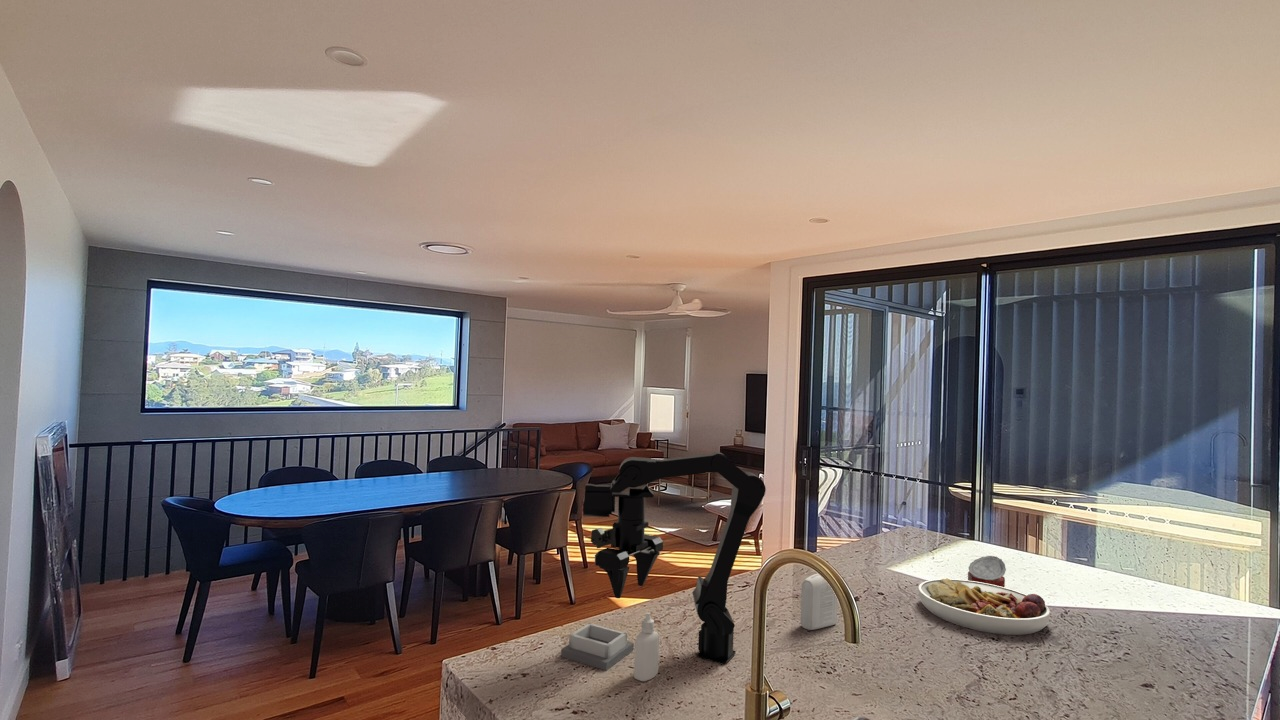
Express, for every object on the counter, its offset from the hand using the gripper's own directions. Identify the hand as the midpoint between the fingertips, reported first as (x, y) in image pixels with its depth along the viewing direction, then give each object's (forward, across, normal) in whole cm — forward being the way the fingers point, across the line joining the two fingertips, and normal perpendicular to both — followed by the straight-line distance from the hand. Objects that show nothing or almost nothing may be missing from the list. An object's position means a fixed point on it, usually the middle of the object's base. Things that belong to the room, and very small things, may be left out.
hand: (629, 591), depth 128 cm
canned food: (+15, -105, +64) cm, 124 cm away
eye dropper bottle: (+13, +6, +8) cm, 17 cm away
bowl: (+15, -74, +63) cm, 98 cm away
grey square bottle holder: (+13, +4, -5) cm, 14 cm away
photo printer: (+14, -40, +30) cm, 52 cm away
